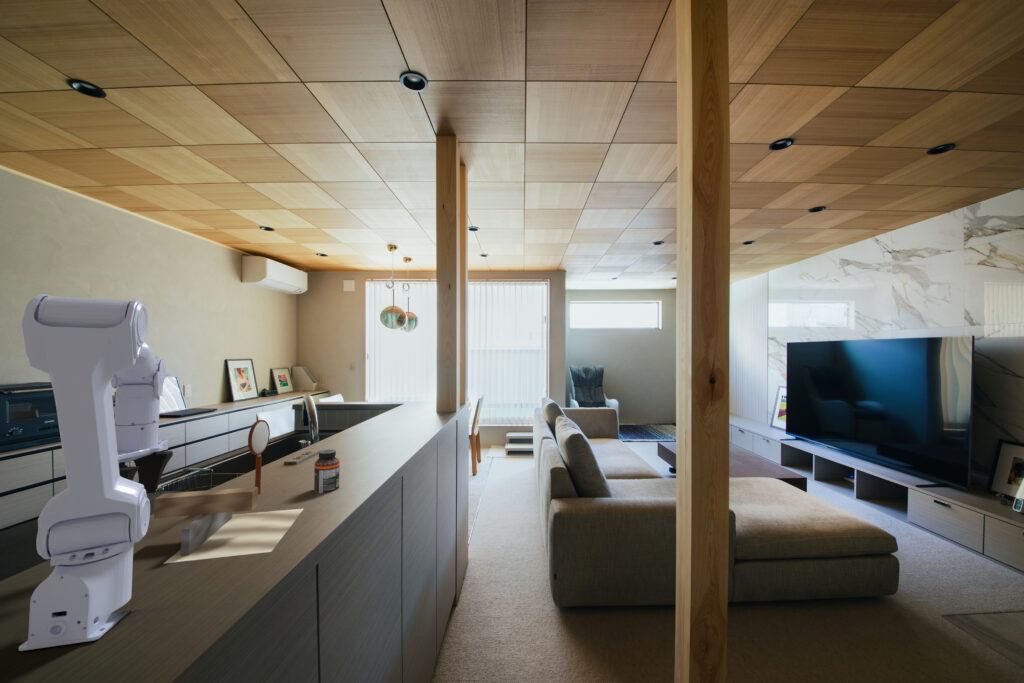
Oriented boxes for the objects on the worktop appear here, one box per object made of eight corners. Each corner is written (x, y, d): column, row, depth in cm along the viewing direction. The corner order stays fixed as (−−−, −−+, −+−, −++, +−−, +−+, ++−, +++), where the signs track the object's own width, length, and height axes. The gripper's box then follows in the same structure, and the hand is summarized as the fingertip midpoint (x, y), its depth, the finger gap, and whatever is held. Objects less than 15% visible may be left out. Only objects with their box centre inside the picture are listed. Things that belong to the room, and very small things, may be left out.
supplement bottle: (314, 492, 101) (315, 449, 102) (338, 489, 104) (339, 447, 104) (313, 500, 96) (314, 454, 96) (339, 496, 98) (340, 452, 99)
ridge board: (270, 560, 67) (271, 525, 68) (163, 572, 64) (164, 535, 64) (303, 515, 87) (304, 488, 87) (222, 522, 83) (223, 494, 83)
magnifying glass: (250, 506, 92) (253, 422, 93) (243, 506, 92) (245, 422, 93) (270, 493, 100) (272, 417, 101) (263, 494, 100) (265, 417, 101)
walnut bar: (153, 518, 71) (154, 498, 71) (163, 512, 73) (164, 493, 74) (251, 510, 74) (252, 491, 75) (257, 505, 77) (258, 486, 77)
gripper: (135, 429, 62) (131, 514, 62) (187, 416, 77) (184, 485, 76) (81, 431, 61) (77, 518, 60) (144, 417, 75) (141, 488, 74)
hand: (133, 500), depth 68 cm, fingers open, 7 cm apart
